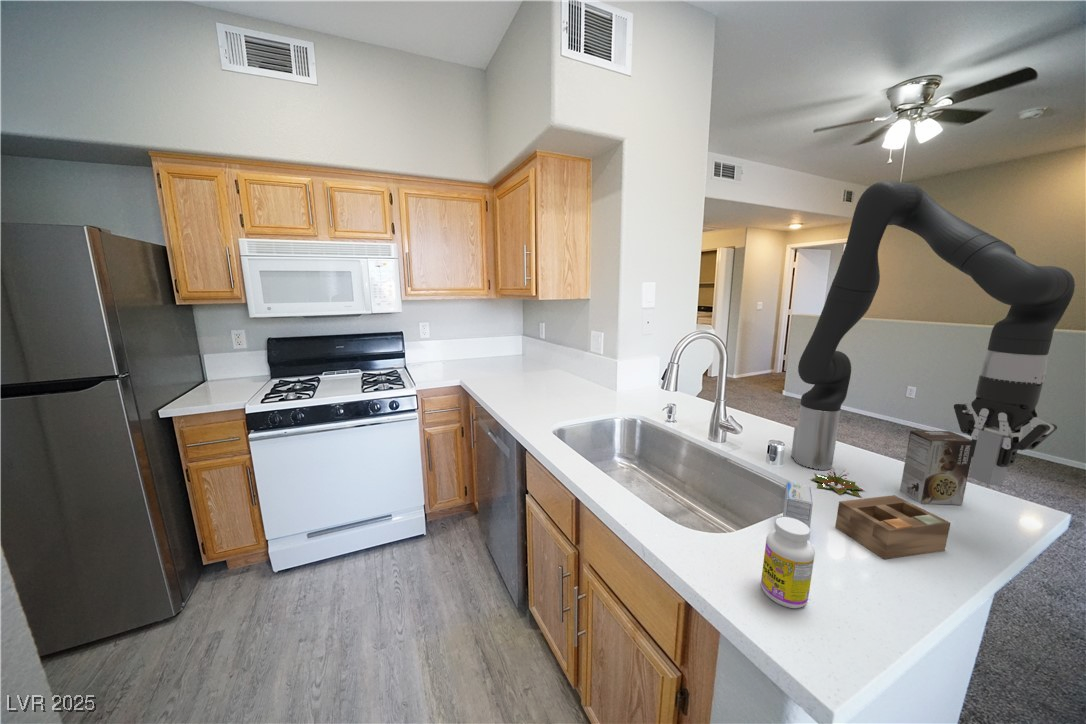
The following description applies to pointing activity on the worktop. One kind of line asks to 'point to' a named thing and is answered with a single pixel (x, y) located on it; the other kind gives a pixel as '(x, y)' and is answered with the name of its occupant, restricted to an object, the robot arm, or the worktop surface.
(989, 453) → the plug
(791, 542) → the supplement bottle
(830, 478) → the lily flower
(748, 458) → the worktop surface
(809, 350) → the robot arm
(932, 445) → the coffee box
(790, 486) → the medicine box
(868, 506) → the socket block
